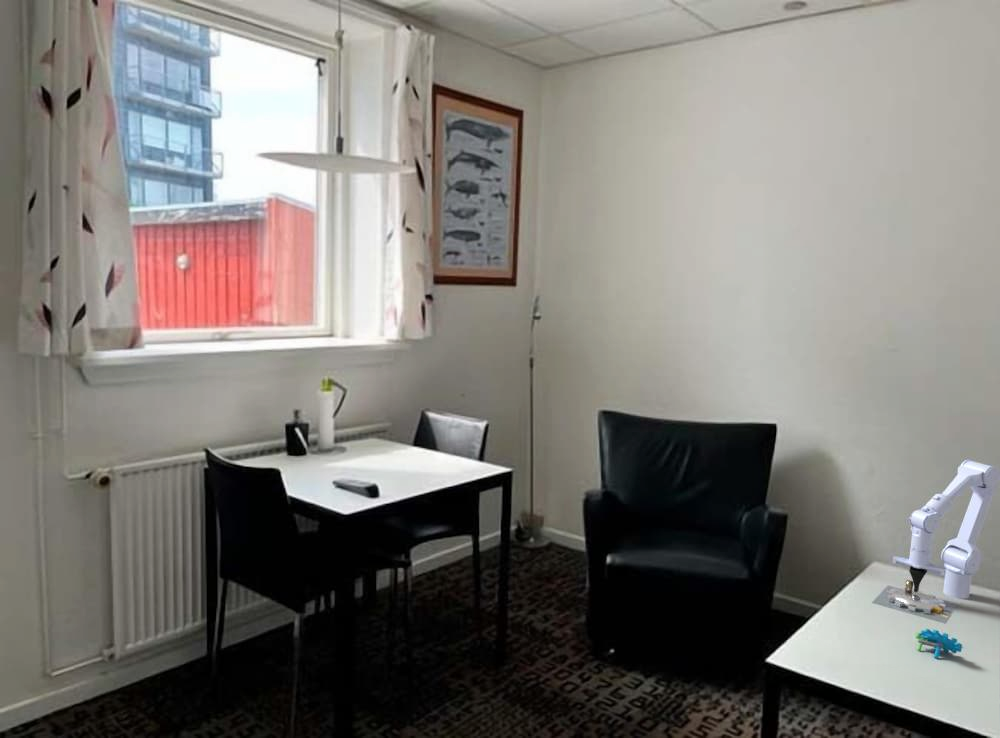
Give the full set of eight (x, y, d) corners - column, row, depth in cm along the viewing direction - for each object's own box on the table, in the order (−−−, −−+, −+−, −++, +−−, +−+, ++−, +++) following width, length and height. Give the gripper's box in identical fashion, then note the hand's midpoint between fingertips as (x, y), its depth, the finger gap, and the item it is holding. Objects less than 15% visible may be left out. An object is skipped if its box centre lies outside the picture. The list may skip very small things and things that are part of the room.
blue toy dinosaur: (968, 652, 204) (956, 632, 200) (962, 672, 202) (950, 652, 197) (924, 641, 213) (912, 622, 208) (918, 660, 210) (905, 641, 206)
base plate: (887, 588, 252) (888, 585, 252) (957, 607, 239) (957, 603, 239) (871, 605, 237) (871, 602, 236) (944, 626, 224) (945, 623, 224)
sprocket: (874, 595, 242) (876, 580, 241) (909, 589, 248) (911, 575, 248) (921, 616, 227) (923, 600, 227) (956, 609, 234) (958, 594, 233)
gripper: (892, 546, 242) (887, 587, 243) (944, 558, 233) (939, 601, 234) (897, 541, 247) (893, 581, 249) (949, 552, 238) (944, 595, 239)
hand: (916, 591), depth 242 cm, fingers closed
